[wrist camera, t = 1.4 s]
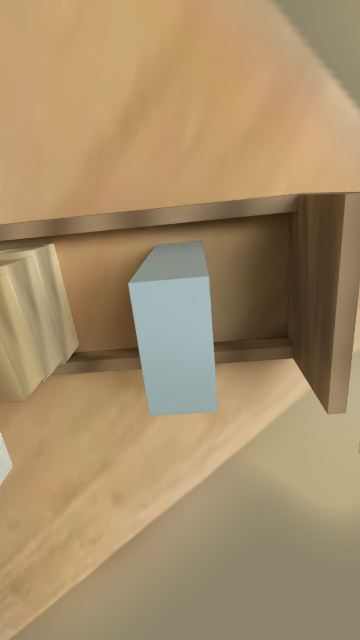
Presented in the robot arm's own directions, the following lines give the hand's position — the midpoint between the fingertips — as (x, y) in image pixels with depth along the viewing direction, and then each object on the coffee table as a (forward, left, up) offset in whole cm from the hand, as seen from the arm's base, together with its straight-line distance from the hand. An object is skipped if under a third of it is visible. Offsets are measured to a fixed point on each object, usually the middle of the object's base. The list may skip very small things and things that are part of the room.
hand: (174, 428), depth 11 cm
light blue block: (0, 0, -19) cm, 19 cm away
